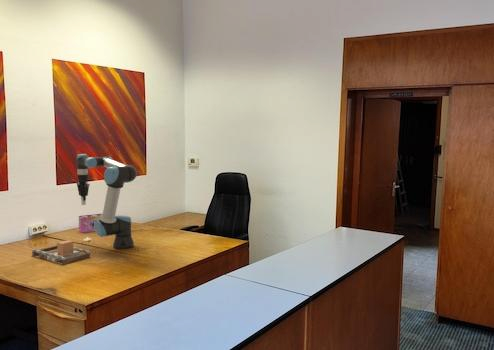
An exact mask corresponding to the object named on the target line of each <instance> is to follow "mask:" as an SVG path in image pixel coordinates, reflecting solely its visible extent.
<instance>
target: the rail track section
mask: <svg viewBox="0 0 494 350" xmlns="http://www.w3.org/2000/svg"><path fill="white" fill-rule="evenodd" d="M73 251H74V253H71V254H67V255H59V254H58V250H57V245H53V246H49V247H45V248H41V249H36V248H32V250H31V254H32V256H33V257H34V256H37V257H39V259H43V260H46V261H50V262H54V263H59V264H61V265H67V264H70V263H74V262H78V261H81V260H86V259H90V257H91V253H90V250H87V249H83V248H80V247H76V246H73Z"/></svg>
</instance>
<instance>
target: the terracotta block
mask: <svg viewBox="0 0 494 350" xmlns="http://www.w3.org/2000/svg"><path fill="white" fill-rule="evenodd" d="M56 246H57V250H58V254H59V255H67V254H71V253H74V251H73V247H74V241H73V240H69V239H67V240H61V241H57V242H56Z"/></svg>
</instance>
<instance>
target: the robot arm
mask: <svg viewBox="0 0 494 350" xmlns="http://www.w3.org/2000/svg"><path fill="white" fill-rule="evenodd" d="M101 167H102V168H105V171H104V174H103V178H104V179H103V181H104V182H105V184H106V186H107V189H106V195H105V200H104V206H103V211H102V214H103V215H102V216H100V219H99V221H97V222H96V223H95V230H96V231H95V233H96V234H97V235H98V237H101V238H103V237H110V236H113V235H115V236H114V240H113V244H112V248H113V249H115V250H116V249H117V250H127V249H131V248H133V247H134V246H135V242H134V240H133V236H132V218H131V217H130V216H127V215H116V212H117V209H118V208H117V207H118V203H119V198H120V193H121V189H122V188H123V187H124V184H125V183H131V182H133V181H135V179H136V178H137V176H138V175H137V174H138V171H137V169H136V167H135V166H133V165H130V164H124V163H121V162H120V161H117V160H114V159H113V158H112V157H111V156H91V157H88V155H87V154H86V153H81V154H77V155H76V168H77V169H76V170H77V180H78V182H76V186H77V191H78V195H79V196H80V200H81V206H86V203H87V202H86V201H87V196H89V188H90V183H88V180H89V169H91V168H93V169H94V168H101Z"/></svg>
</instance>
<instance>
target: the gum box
mask: <svg viewBox="0 0 494 350" xmlns="http://www.w3.org/2000/svg"><path fill="white" fill-rule="evenodd" d="M102 215H103V213H96V214H85V215H79V216H78V231H79V233H81V234H84V233H93V232H96V230H95V223H96V222H97V221H99V219H100V216H102Z"/></svg>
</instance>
